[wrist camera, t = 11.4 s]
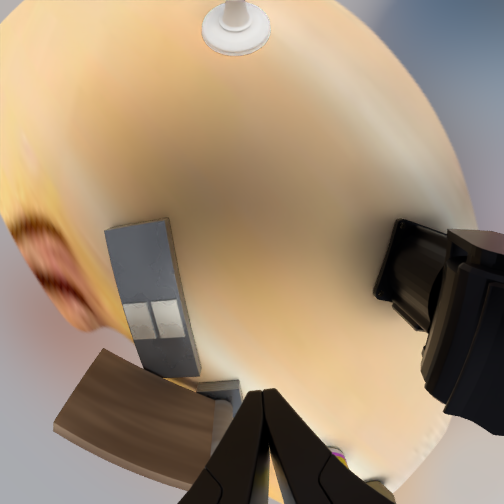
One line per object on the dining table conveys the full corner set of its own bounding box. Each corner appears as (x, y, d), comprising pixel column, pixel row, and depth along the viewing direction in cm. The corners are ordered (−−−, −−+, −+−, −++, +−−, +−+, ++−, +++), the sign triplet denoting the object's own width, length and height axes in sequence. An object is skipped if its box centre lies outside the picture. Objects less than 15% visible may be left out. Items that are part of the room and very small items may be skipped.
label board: (209, 211, 20) (207, 214, 18) (244, 407, 24) (244, 418, 23) (110, 227, 20) (102, 231, 18) (167, 411, 24) (164, 421, 23)
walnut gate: (104, 344, 20) (52, 421, 12) (236, 404, 22) (236, 495, 13) (99, 360, 21) (52, 435, 12) (226, 417, 23) (223, 504, 14)
